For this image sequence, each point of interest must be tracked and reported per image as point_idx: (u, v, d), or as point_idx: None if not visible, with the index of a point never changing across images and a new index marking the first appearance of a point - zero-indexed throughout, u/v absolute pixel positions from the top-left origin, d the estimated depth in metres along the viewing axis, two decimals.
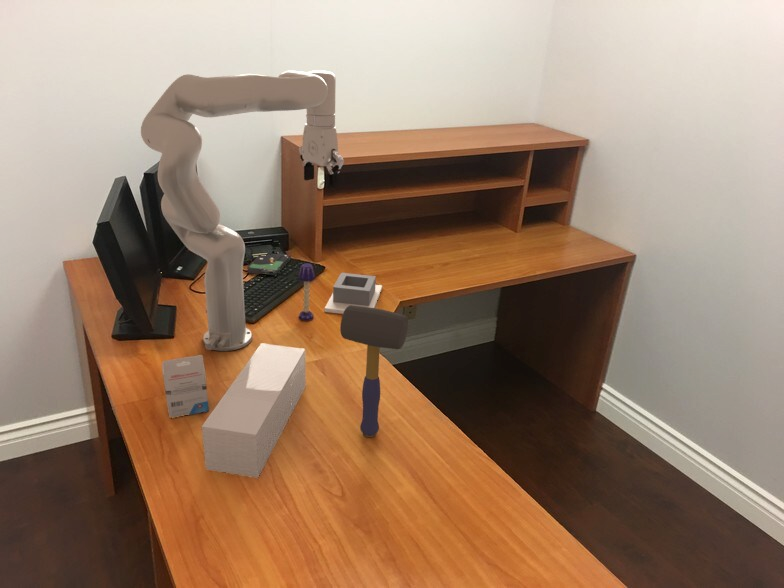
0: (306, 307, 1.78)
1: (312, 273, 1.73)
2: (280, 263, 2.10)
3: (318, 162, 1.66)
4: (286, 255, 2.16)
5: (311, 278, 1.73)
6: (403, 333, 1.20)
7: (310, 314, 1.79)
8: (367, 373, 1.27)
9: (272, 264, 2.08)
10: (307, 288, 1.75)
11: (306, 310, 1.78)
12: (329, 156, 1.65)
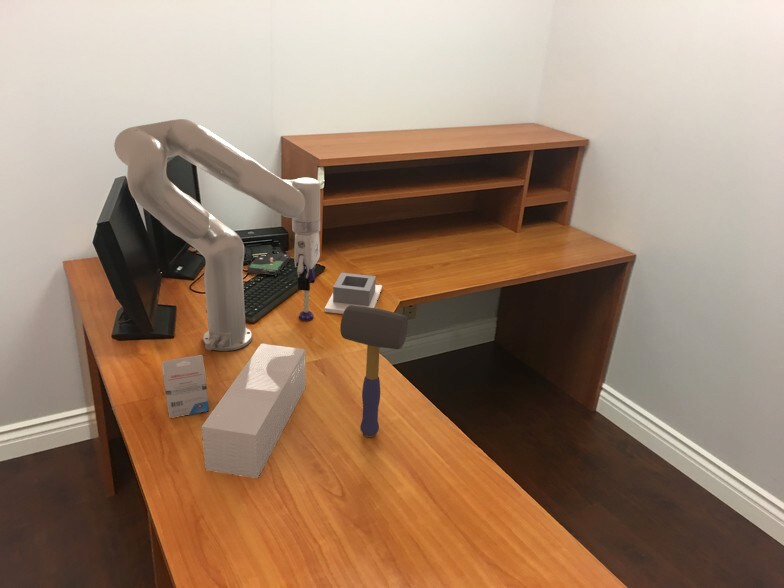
0: (306, 307, 1.78)
1: (312, 273, 1.73)
2: (280, 263, 2.10)
3: (318, 258, 1.74)
4: (286, 255, 2.16)
5: (311, 278, 1.73)
6: (403, 333, 1.20)
7: (310, 314, 1.79)
8: (367, 373, 1.27)
9: (272, 264, 2.08)
10: None
11: (306, 310, 1.78)
12: None
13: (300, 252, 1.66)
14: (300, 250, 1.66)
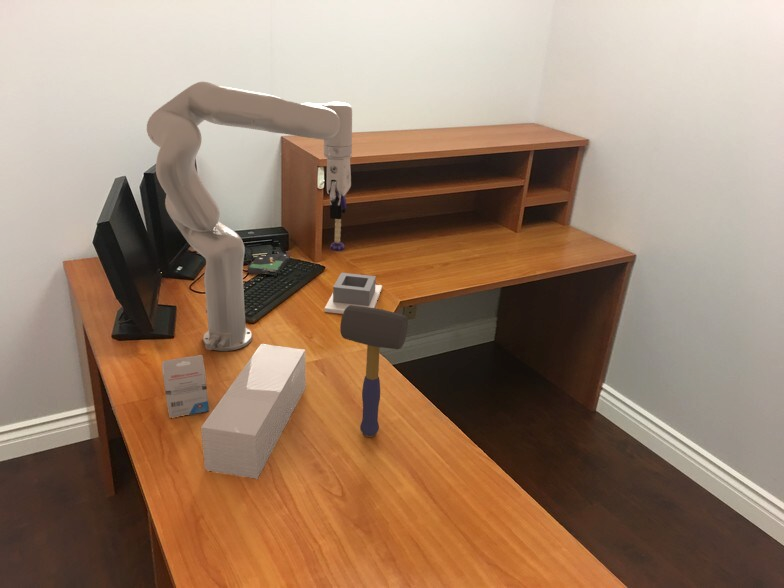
0: (337, 237, 1.77)
1: (344, 201, 1.72)
2: (280, 263, 2.10)
3: (349, 186, 1.73)
4: (285, 255, 2.16)
5: (343, 206, 1.72)
6: (403, 333, 1.20)
7: (341, 245, 1.78)
8: (367, 373, 1.27)
9: (272, 264, 2.08)
10: None
11: (337, 240, 1.78)
12: None
13: (332, 178, 1.65)
14: (332, 175, 1.65)
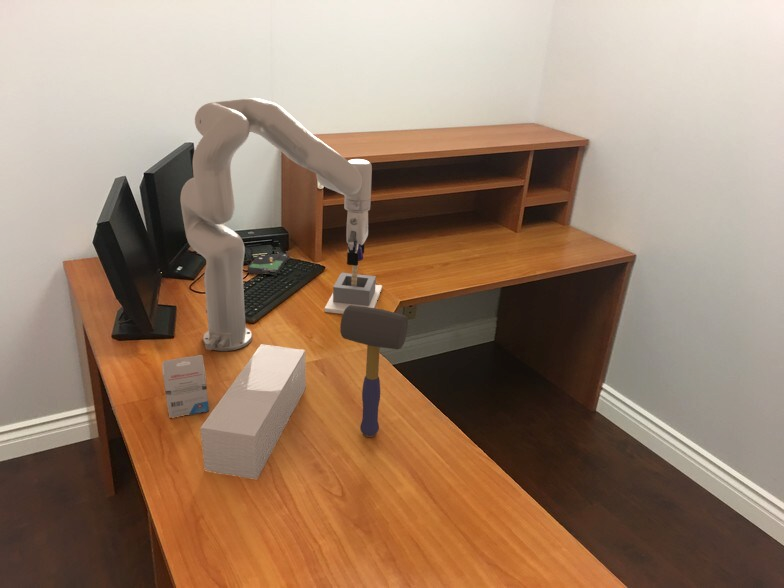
0: (354, 286, 1.89)
1: (361, 253, 1.84)
2: (280, 262, 2.10)
3: (367, 235, 1.85)
4: (285, 254, 2.16)
5: (360, 258, 1.84)
6: (403, 333, 1.20)
7: None
8: (367, 373, 1.27)
9: (272, 264, 2.08)
10: (355, 268, 1.87)
11: None
12: None
13: (352, 229, 1.77)
14: (352, 227, 1.77)
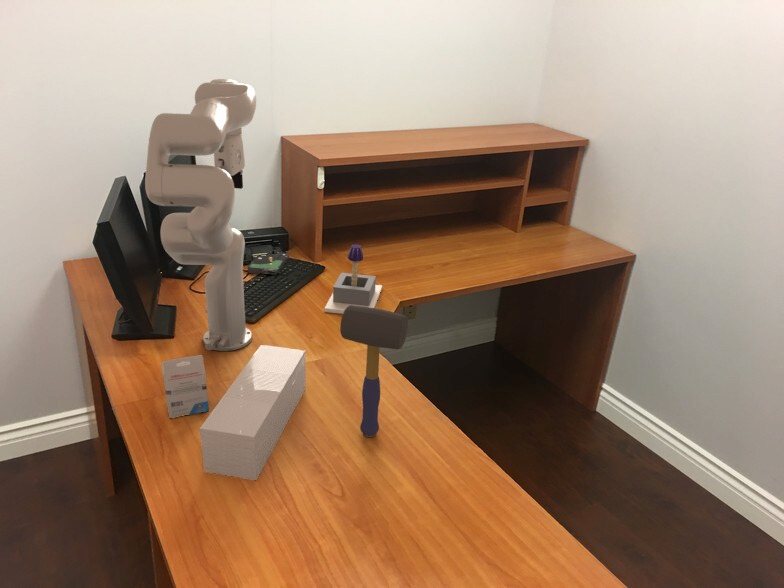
0: (354, 286, 1.89)
1: (361, 253, 1.84)
2: (280, 262, 2.10)
3: (242, 167, 1.69)
4: (284, 254, 2.17)
5: (360, 258, 1.84)
6: (403, 333, 1.20)
7: None
8: (367, 373, 1.27)
9: (272, 264, 2.08)
10: (355, 268, 1.87)
11: None
12: None
13: (220, 156, 1.61)
14: (219, 154, 1.61)
